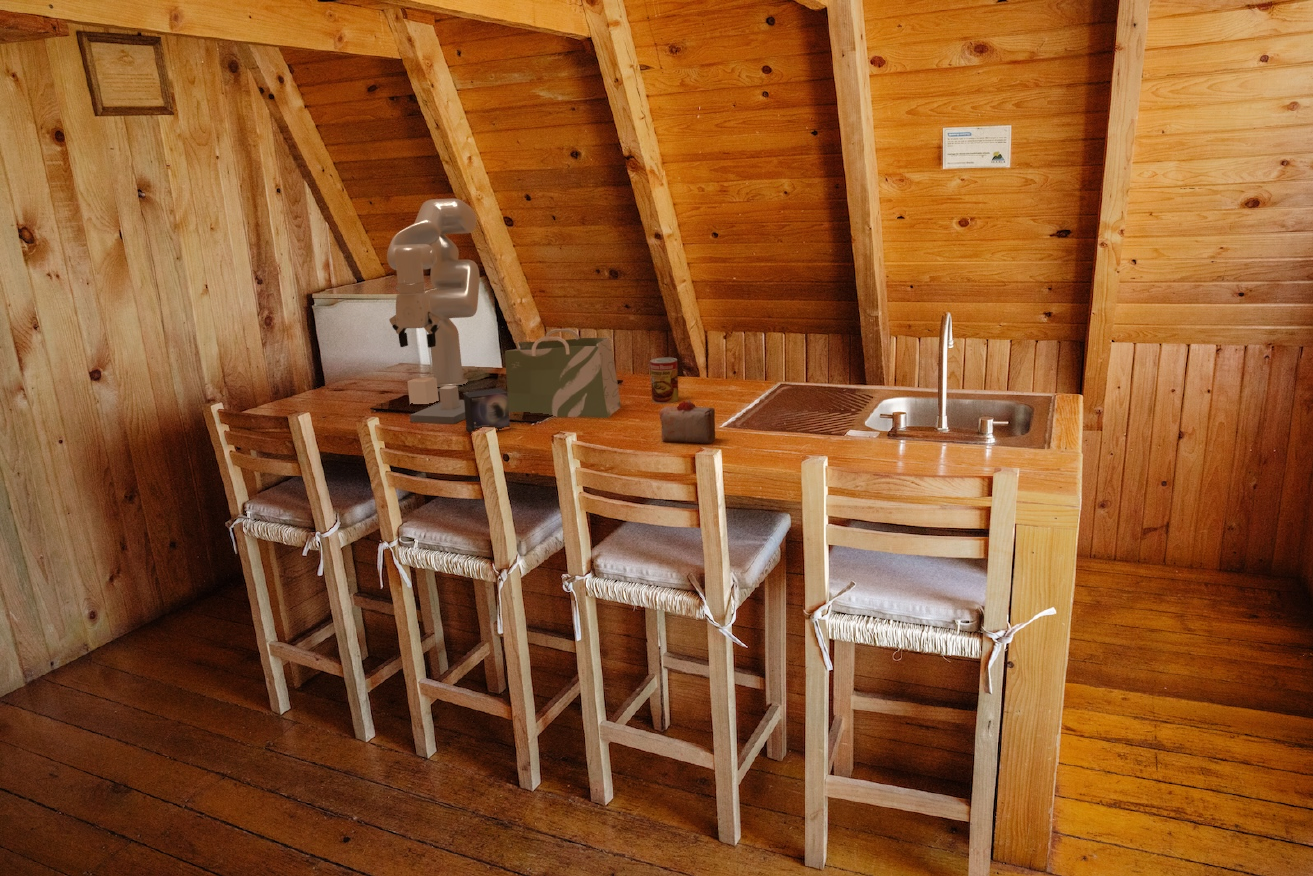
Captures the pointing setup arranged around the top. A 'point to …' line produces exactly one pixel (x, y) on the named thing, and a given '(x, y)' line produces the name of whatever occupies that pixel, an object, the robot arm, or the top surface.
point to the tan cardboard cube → (423, 390)
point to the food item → (688, 423)
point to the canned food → (664, 380)
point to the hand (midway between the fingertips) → (418, 346)
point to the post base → (440, 414)
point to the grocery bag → (563, 377)
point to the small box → (486, 409)
